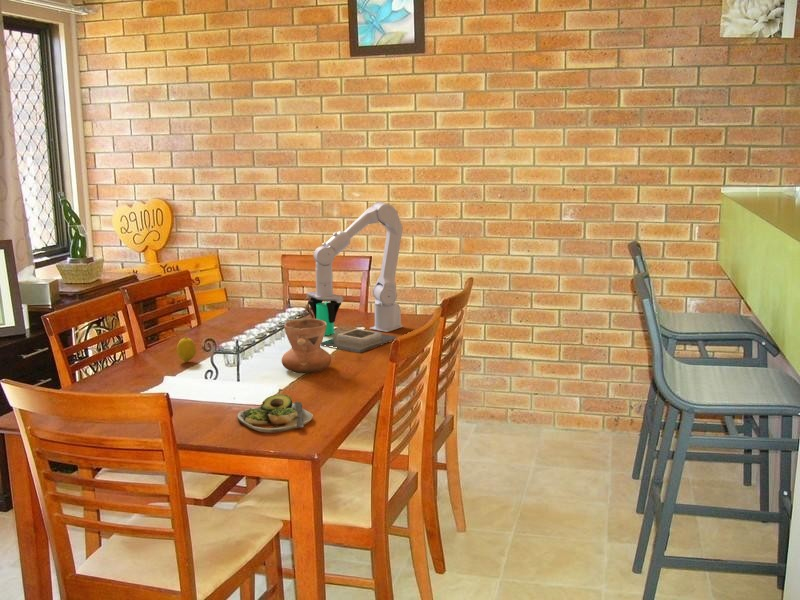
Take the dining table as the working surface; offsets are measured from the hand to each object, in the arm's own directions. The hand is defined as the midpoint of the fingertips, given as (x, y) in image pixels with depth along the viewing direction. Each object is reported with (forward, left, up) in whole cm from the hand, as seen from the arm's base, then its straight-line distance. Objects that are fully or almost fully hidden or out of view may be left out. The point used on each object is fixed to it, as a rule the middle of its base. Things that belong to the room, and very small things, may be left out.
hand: (325, 321), depth 292 cm
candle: (0, 0, -5) cm, 5 cm away
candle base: (+3, +17, -4) cm, 18 cm away
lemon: (+51, -12, -5) cm, 53 cm away
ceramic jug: (+36, +23, -5) cm, 43 cm away
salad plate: (+73, +45, -5) cm, 86 cm away
